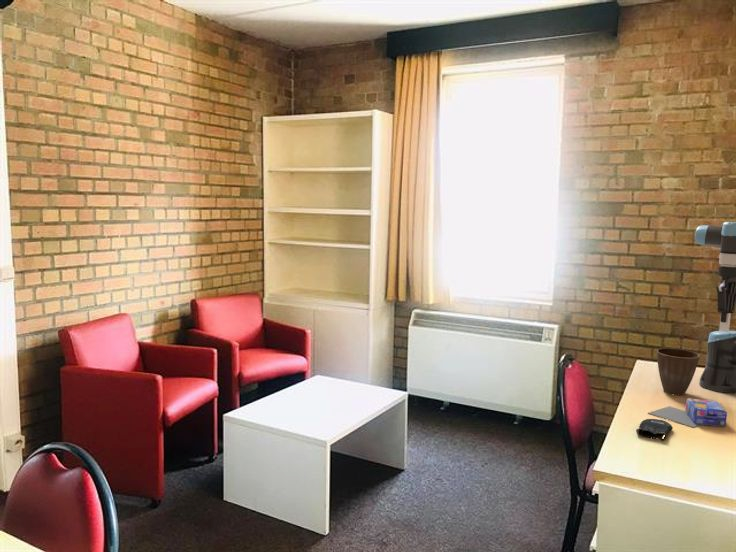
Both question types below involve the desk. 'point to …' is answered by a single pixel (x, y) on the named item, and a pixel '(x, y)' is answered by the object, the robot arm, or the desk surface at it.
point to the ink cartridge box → (706, 412)
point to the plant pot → (676, 369)
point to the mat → (674, 416)
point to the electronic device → (654, 427)
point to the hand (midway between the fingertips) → (724, 330)
